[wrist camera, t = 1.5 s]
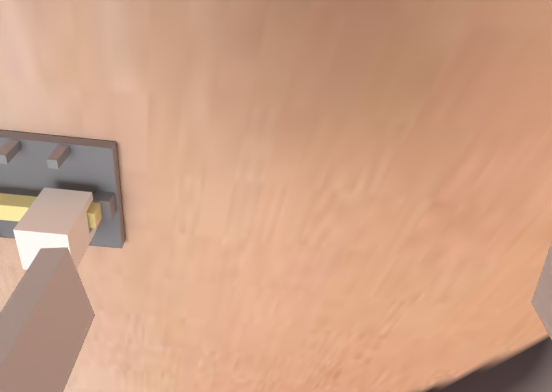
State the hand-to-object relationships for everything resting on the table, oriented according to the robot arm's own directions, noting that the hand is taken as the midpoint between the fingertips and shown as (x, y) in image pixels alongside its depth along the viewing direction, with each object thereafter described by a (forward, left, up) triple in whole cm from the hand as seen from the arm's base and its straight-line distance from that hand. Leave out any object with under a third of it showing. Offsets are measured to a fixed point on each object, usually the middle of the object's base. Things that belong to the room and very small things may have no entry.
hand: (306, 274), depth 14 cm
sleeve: (-3, -24, -24) cm, 34 cm away
